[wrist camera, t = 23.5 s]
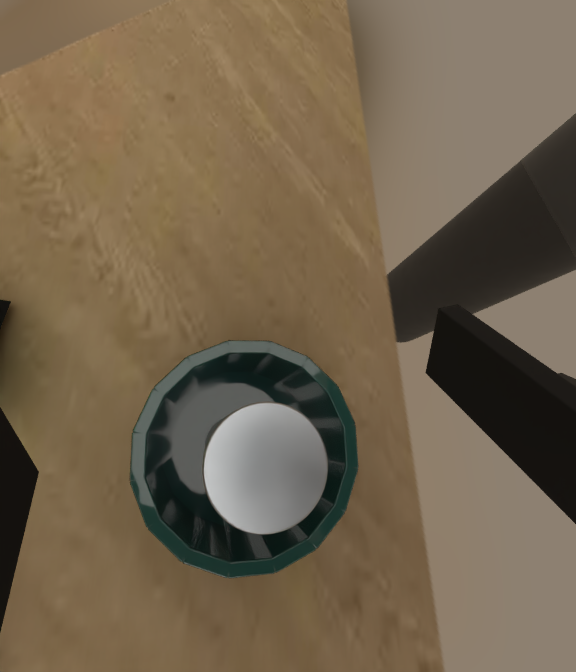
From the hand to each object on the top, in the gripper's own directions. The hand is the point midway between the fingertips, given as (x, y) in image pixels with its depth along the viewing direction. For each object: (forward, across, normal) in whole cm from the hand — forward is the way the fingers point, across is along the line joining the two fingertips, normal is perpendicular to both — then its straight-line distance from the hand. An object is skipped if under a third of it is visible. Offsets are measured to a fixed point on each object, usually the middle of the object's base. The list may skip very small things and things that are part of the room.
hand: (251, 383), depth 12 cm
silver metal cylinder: (+6, 0, -10) cm, 12 cm away
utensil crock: (+7, 0, -10) cm, 12 cm away
